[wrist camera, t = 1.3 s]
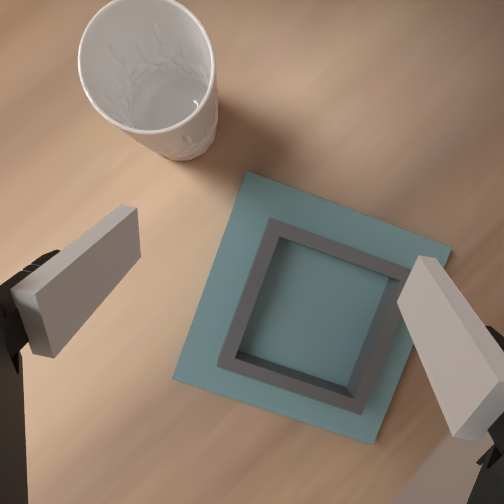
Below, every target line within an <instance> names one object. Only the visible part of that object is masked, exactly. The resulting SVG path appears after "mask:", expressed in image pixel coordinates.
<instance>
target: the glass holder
mask: <svg viewBox="0 0 504 504" xmlns="http://www.w3.org/2000/svg"><path fill="white" fill-rule="evenodd" d="M451 249H452V247H449V246H447V245H444V244H442V243H439V242H436V241H434V240H431V239H428V238H426V237H423V236H420V235H418V234H415V233H412V232H410V231H407V230H404V229H402V228H399V227H396V226H394V225H391V224H388V223H386V222H383V221H380V220H378V219H375V218H372V217H370V216H367V215H364V214H362V213H359V212H356V211H354V210H351V209H348V208H346V207H343V206H340V205H338V204H335V203H332V202H330V201H327V200H324V199H322V198H319V197H316V196H314V195H311V194H308V193H306V192H303V191H300V190H298V189H295V188H292V187H290V186H287V185H284V184H282V183H279V182H276V181H274V180H271V179H268V178H266V177H263V176H261V175H258V174H255V173H253V172H250V171H247V170H246V173H245V176H244V179H243V182H242V184H241V187H240V190H239V193H238V196H237V198H236V201H235V204H234V207H233V210H232V212H231V215H230V218H229V221H228V224H227V226H226V229H225V232H224V235H223V238H222V240H221V243H220V246H219V249H218V252H217V254H216V257H215V260H214V263H213V266H212V268H211V271H210V274H209V277H208V280H207V282H206V285H205V288H204V291H203V294H202V296H201V299H200V302H199V305H198V308H197V310H196V313H195V316H194V319H193V321H192V324H191V327H190V330H189V333H188V335H187V338H186V341H185V344H184V347H183V349H182V352H181V355H180V358H179V361H178V363H177V366H176V369H175V372H174V375H173V377H172V379H173V380H176V381H179V382H182V383H185V384H188V385H191V386H194V387H197V388H201V389H204V390H207V391H210V392H213V393H216V394H219V395H222V396H225V397H228V398H231V399H234V400H237V401H240V402H243V403H246V404H249V405H252V406H255V407H258V408H261V409H264V410H267V411H270V412H273V413H276V414H279V415H282V416H285V417H288V418H291V419H294V420H297V421H300V422H303V423H306V424H309V425H312V426H316V427H319V428H322V429H325V430H328V431H331V432H334V433H337V434H340V435H343V436H346V437H349V438H352V439H355V440H358V441H361V442H364V443H367V444H370V445H373V444H374V442H375V439H376V437H377V434H378V432H379V429H380V427H381V424H382V422H383V419H384V417H385V414H386V412H387V409H388V407H389V404H390V402H391V399H392V397H393V394H394V392H395V389H396V387H397V384H398V382H399V379H400V377H401V374H402V372H403V369H404V367H405V364H406V362H407V359H408V357H409V354H410V352H411V349H412V347H413V344H414V343H413V340H412V338H411V335H410V333H409V331H408V328H407V326H406V323H405V321H404V319H403V316H402V314H401V311H400V309H399V307H398V304H397V300H398V298H399V296H400V294H401V292H402V290H403V288H404V285H405V283H406V281H407V279H408V277H409V275H410V273H411V270H412V268H413V266H414V264H415V262H416V260H417V258H418V255H421V256H427V257H433V258H436V259H437V260H438V262H439V263H440V264H441V266H442V267H443V269H444V267H445V264H446V262H447V259H448V257H449V254H450V252H451Z"/></svg>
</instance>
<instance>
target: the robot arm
mask: <svg viewBox="0 0 504 504" xmlns="http://www.w3.org/2000/svg"><path fill="white" fill-rule="evenodd" d="M140 257H141V252H140V239H139V226H138V212H137V208H136V207H130V206H124V205H121V206H120V207H118V208H117V209H116V210H114V211H113V212H112V213H110V214H109V215H108V216H106V217H105V218H104V219H102V220H101V221H100V222H98V223H97V224H96V225H94V226H93V227H92V228H90V229H89V230H88V231H87V232H85V233H84V234H83V235H81V236H80V237H79V238H77V239H76V240H75V241H73V242H72V243H71V244H69V245H68V246H67V247H65V248H64V249H63V250H61V251H60V250H54V251H52V252H49V253H47V254H44V255H42V256H41V257H39V258H38V259H36V260H35V261H34V262H32V263H31V265H28V266H27V267H25V268H24V269H23V271H20V272H18V273H17V274H15V275H14V276H13V277H11V278H10V279H9V280H7V281H6V282H4V283H3V284H2V285H0V504H28V487H27V463H26V439H25V414H24V390H23V366H22V356H21V353H20V350H21V349H22V348H23V347H24V346H25V345H26V344H27V343H28V342H29V345H30V348H31V350H32V353H33V354H35V355H40V356H45V357H50V358H55V357H56V356H57V355H58V353H59V352H60V351H61V350H62V349H63V348H64V346H65V345H66V344H67V343H68V342H69V341H70V339H71V338H72V337H73V336H74V335H75V333H76V332H77V331H78V330H79V329H80V328H81V326H82V325H83V324H84V323H85V322H86V321H87V319H88V318H89V317H90V316H91V315H92V314H93V312H94V311H95V310H96V309H97V308H98V307H99V305H100V304H101V303H102V302H103V301H104V299H105V298H106V297H107V296H108V295H109V294H110V292H111V291H112V290H113V289H114V288H115V287H116V285H117V284H118V283H119V282H120V281H121V280H122V278H123V277H124V276H125V275H126V274H127V272H128V271H129V270H130V269H131V268H132V267H133V265H134V264H135V263H136V262H137V261H138V260H139V258H140ZM397 304H398V307H399V309H400V311H401V314H402V316H403V319H404V321H405V323H406V326H407V328H408V331H409V333H410V335H411V338H412V340H413V343H414V345H415V347H416V350H417V352H418V355H419V357H420V359H421V362H422V364H423V367H424V369H425V371H426V374H427V376H428V379H429V381H430V383H431V386H432V388H433V391H434V393H435V396H436V398H437V400H438V403H439V405H440V408H441V410H442V412H443V415H444V417H445V420H446V422H447V424H448V427H449V429H450V432H451V434H452V436H453V437H455V438H461V439H465V440H470V441H475V442H478V441H479V440H480V439H481V438H482V437H483V436H484V435H485V433H486V432H487V431H488V432H489V433H490V435H491V437H492V439H493V441H494V443H495V444H494V445H493V446H492V447H491V448H490V449H489V450H488V451H487V452H486V453H485V454H484V455H483V456H482V457H481V458H480V459H479V460H478V461H477V462H476V463H477V464H479V465H481V464H482V463H483V465H482V468H481V470H480V472H479V475H478V477H477V479H476V482H475V485H474V487H473V489H472V492H471V494H470V497H469V499H468V502H467V504H504V337H503V336H502V335H501V334H499V333H498V332H497V331H496V330H495V329H493V328H492V327H491V326H485V325H484V324H483V323H482V321H481V320H480V319H479V317H478V316H477V314H476V313H475V312H474V310H473V309H472V307H471V306H470V305H469V303H468V302H467V301H466V299H465V298H464V296H463V295H462V294H461V292H460V291H459V289H458V288H457V287H456V285H455V284H454V282H453V281H452V280H451V278H450V277H449V276H448V274H447V273H446V271H445V270H444V269H443V267H442V266H441V264H440V263H439V262H438V260H437V259H436V258H433V257H427V256H421V255H418V258H417V260H416V262H415V264H414V266H413V268H412V270H411V273H410V275H409V277H408V279H407V281H406V283H405V285H404V288H403V290H402V292H401V294H400V296H399V298H398V300H397Z"/></svg>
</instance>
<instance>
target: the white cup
mask: <svg viewBox="0 0 504 504" xmlns="http://www.w3.org/2000/svg"><path fill="white" fill-rule="evenodd" d="M78 70H79V76H80V80H81V84H82V87H83V89H84V91H85V94H86V96H87V97H88V99H89V101H90V102H91V104H92V105H93V107H94V108H95V109H96V110H97V111H98V112H99V113H100V114H101V115H102V116H103V117H104V118H105V119H106V120H108V121H109V122H110V123H112V124H113V125H115V126H116V127H118V128H119V129H121V130H122V131H123V132H125V133H126V134H128V135H129V136H130V137H132V138H133V139H135V140H136V141H137V142H139V143H141V144H142V145H144V146H145V147H147V148H149V149H150V150H152V151H154V152H156V153H157V154H159V155H162V156H164V157H166V158H168V159H170V160H172V161H187V160H192V159H194V158H196V157H198V156H200V155H202V154H203V153H205V152H206V151H207V149H208V148H209V147H210V145H211V144H212V142H213V141H214V140H215V136H216V131H217V126H218V90H217V77H216V61H215V54H214V49H213V45H212V42H211V40H210V37H209V35H208V33H207V31H206V29H205V28H204V26H203V25H202V23H201V22H200V21H199V19H198V18H197V17H196V16H195V15H194V14H193V13H192V12H191V11H190V10H189V9H187V8H186V7H185V6H183V5H182V4H180V3H179V2H177V1H175V0H114V1H112V2H110V3H108V4H107V5H105V6H104V7H103V8H102V9H101V10H99V11H98V12H97V13H96V14H95V16H94V17H93V18H92V19H91V21H90V22H89V24H88V25H87V27H86V29H85V31H84V33H83V36H82V38H81V42H80V46H79V51H78Z"/></svg>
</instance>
